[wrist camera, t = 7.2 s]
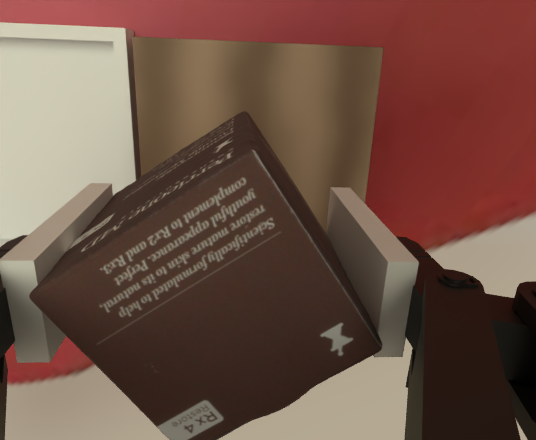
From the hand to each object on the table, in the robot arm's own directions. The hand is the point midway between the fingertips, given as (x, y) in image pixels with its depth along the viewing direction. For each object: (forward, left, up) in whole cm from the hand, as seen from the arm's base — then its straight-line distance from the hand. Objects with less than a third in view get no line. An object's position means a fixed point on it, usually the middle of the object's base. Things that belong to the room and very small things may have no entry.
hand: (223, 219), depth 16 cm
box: (0, 0, 0) cm, 0 cm away
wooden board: (-2, 0, -17) cm, 17 cm away
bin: (+12, +1, -17) cm, 21 cm away
